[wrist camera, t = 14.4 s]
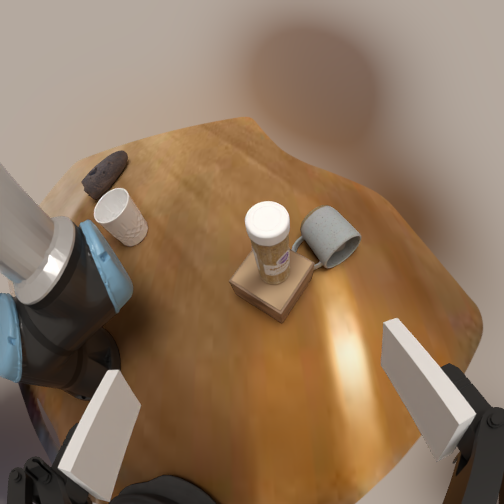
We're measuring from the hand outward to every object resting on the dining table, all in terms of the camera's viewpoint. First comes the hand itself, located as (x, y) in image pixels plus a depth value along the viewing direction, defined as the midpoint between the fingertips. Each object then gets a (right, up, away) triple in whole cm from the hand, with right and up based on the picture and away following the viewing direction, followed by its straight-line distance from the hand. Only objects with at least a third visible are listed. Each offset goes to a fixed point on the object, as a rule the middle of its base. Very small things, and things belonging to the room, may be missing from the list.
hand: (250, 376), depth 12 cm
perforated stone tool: (-36, +24, +51) cm, 67 cm away
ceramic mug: (+12, +6, +35) cm, 38 cm away
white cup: (-24, +10, +42) cm, 50 cm away
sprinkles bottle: (+3, +3, +28) cm, 28 cm away
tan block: (+4, 0, +33) cm, 33 cm away
